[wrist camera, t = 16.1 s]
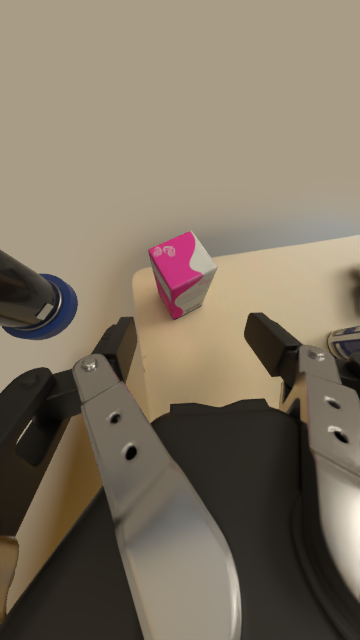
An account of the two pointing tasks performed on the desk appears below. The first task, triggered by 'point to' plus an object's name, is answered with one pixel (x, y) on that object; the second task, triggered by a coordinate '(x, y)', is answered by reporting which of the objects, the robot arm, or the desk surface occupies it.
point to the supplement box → (182, 273)
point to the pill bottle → (344, 342)
